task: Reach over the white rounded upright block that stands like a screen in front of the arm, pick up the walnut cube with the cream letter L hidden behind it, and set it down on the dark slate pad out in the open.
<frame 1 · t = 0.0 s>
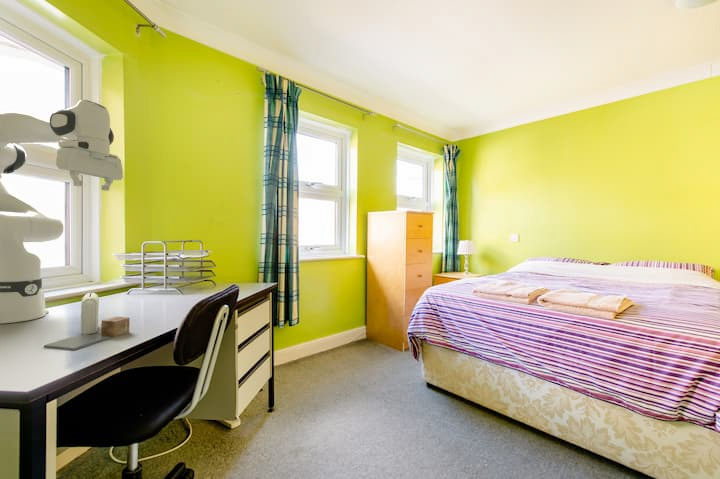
hand: (92, 188, 106), 48 cm above the table, tool pointing down, fingers open, 8 cm apart
white rounded upright block: (89, 331, 101), on the table
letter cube: (115, 334, 98), on the table
slate pad: (77, 342, 90), on the table
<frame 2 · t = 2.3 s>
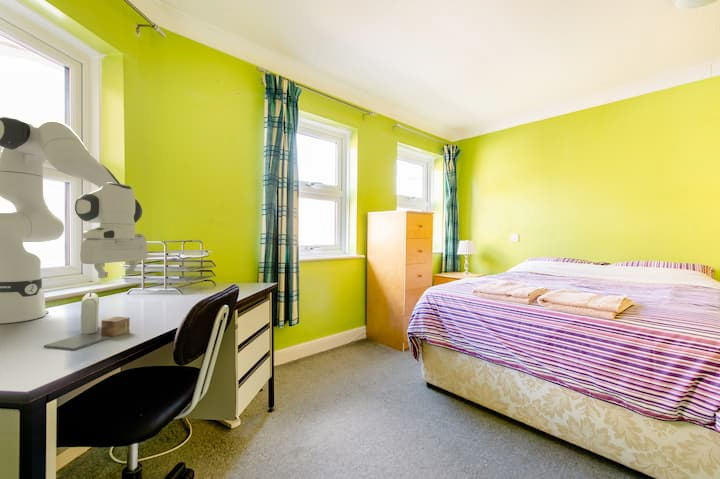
hand: (117, 276, 98), 19 cm above the table, tool pointing down, fingers open, 8 cm apart
nothing on the table moved.
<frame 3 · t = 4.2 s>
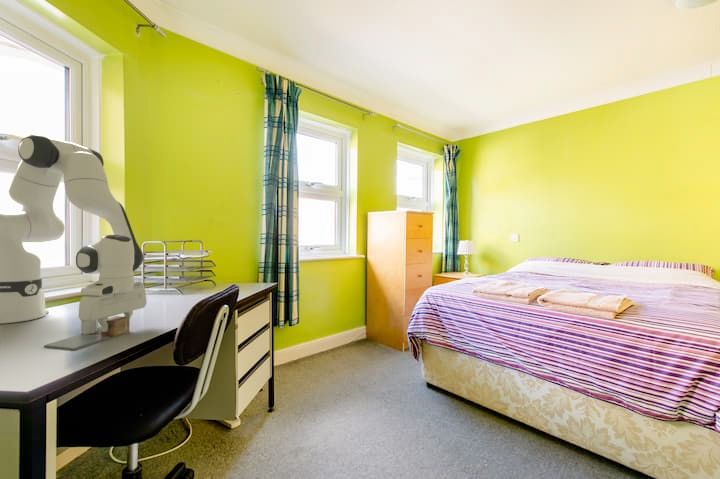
hand: (115, 328, 98), 2 cm above the table, tool pointing down, fingers closed on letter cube, 5 cm apart
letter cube: (115, 334, 98), on the table, touching gripper
everything else where it was.
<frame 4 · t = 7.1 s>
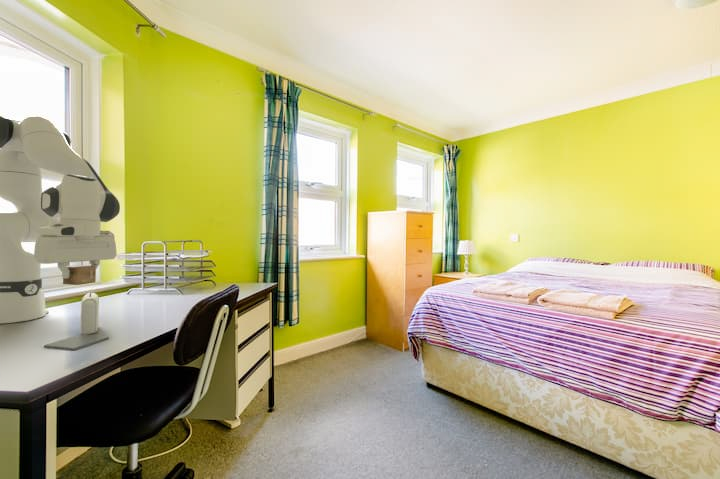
hand: (79, 276, 89), 20 cm above the table, tool pointing down, fingers closed on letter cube, 5 cm apart
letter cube: (79, 283, 89), point 18 cm above the table, touching gripper
everything else where it was.
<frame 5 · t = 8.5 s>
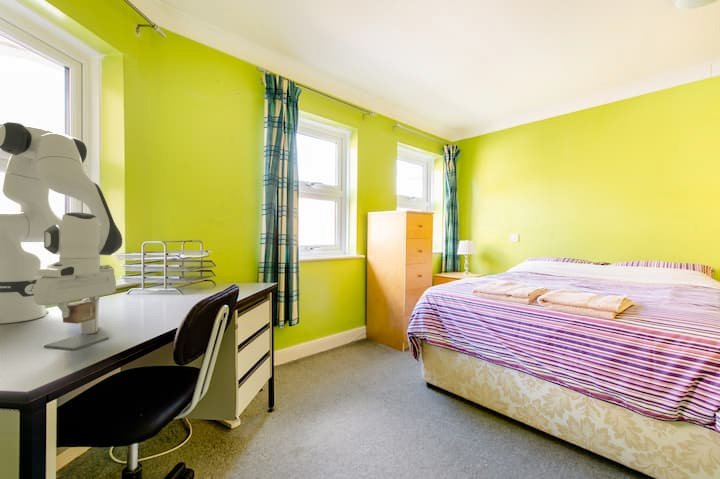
hand: (79, 314, 90), 8 cm above the table, tool pointing down, fingers closed on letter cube, 5 cm apart
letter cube: (79, 320, 90), point 7 cm above the table, touching gripper
everything else where it was.
when the fingers open (4 cm above the table, at t = 9.8 s): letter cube drops 1 cm, resting on slate pad.
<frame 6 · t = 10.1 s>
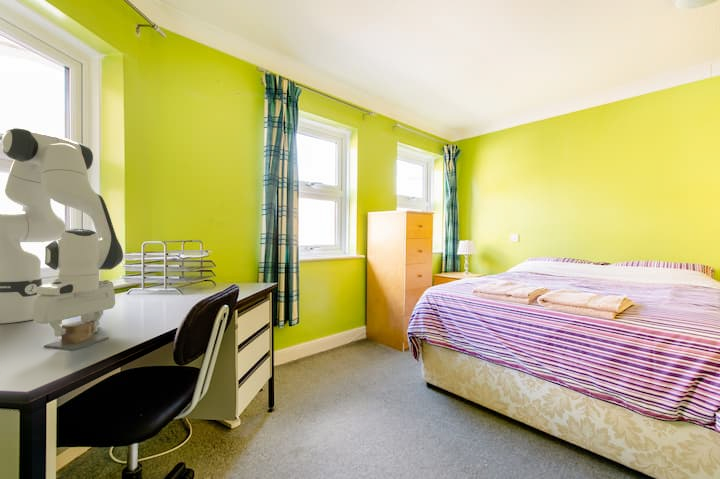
hand: (78, 330, 90), 4 cm above the table, tool pointing down, fingers open, 8 cm apart
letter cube: (78, 340, 90), point 1 cm above the table, touching slate pad
everything else where it was.
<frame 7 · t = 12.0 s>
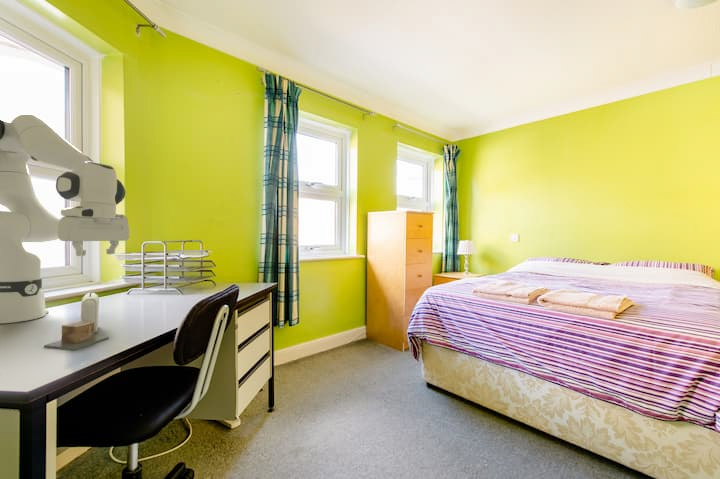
hand: (96, 255, 99), 25 cm above the table, tool pointing down, fingers open, 8 cm apart
nothing on the table moved.
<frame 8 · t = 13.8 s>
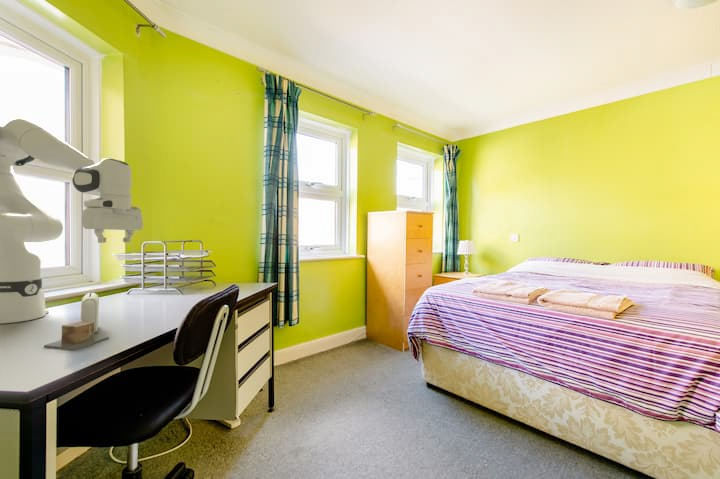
hand: (114, 242, 109), 29 cm above the table, tool pointing down, fingers open, 8 cm apart
nothing on the table moved.
at the end: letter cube inside the target area on the slate pad (0.0 cm from its centre), point 0.6 cm above the slate pad's base; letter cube tilted 0°; the gripper is holding nothing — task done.
